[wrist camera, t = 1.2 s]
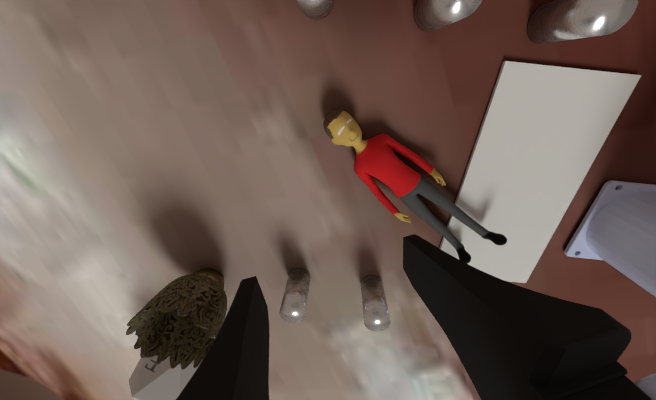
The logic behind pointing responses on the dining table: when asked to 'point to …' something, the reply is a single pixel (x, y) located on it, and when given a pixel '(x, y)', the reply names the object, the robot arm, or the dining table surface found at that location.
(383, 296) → the spacer field
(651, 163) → the dining table surface
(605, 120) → the mat
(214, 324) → the cup
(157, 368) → the die
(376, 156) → the person figure
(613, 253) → the robot arm
